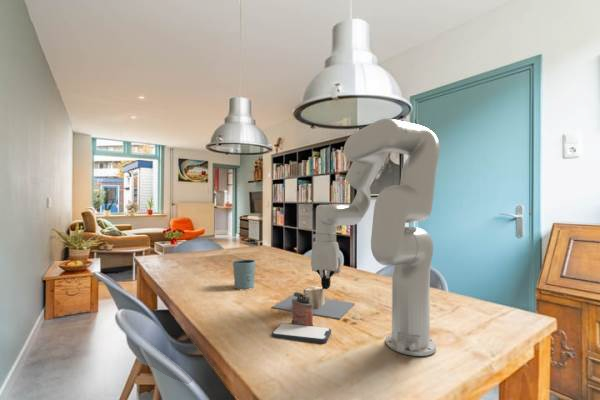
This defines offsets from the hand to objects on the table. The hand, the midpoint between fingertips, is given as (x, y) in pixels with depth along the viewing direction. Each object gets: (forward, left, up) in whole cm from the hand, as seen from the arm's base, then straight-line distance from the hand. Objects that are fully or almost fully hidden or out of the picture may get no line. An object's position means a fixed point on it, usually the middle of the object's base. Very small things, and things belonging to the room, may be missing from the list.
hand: (325, 288), depth 114 cm
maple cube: (0, +2, -4) cm, 4 cm away
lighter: (-19, 0, -7) cm, 21 cm away
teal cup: (+10, +44, -7) cm, 45 cm away
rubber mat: (0, +5, -7) cm, 8 cm away
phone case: (-25, -2, -8) cm, 26 cm away
